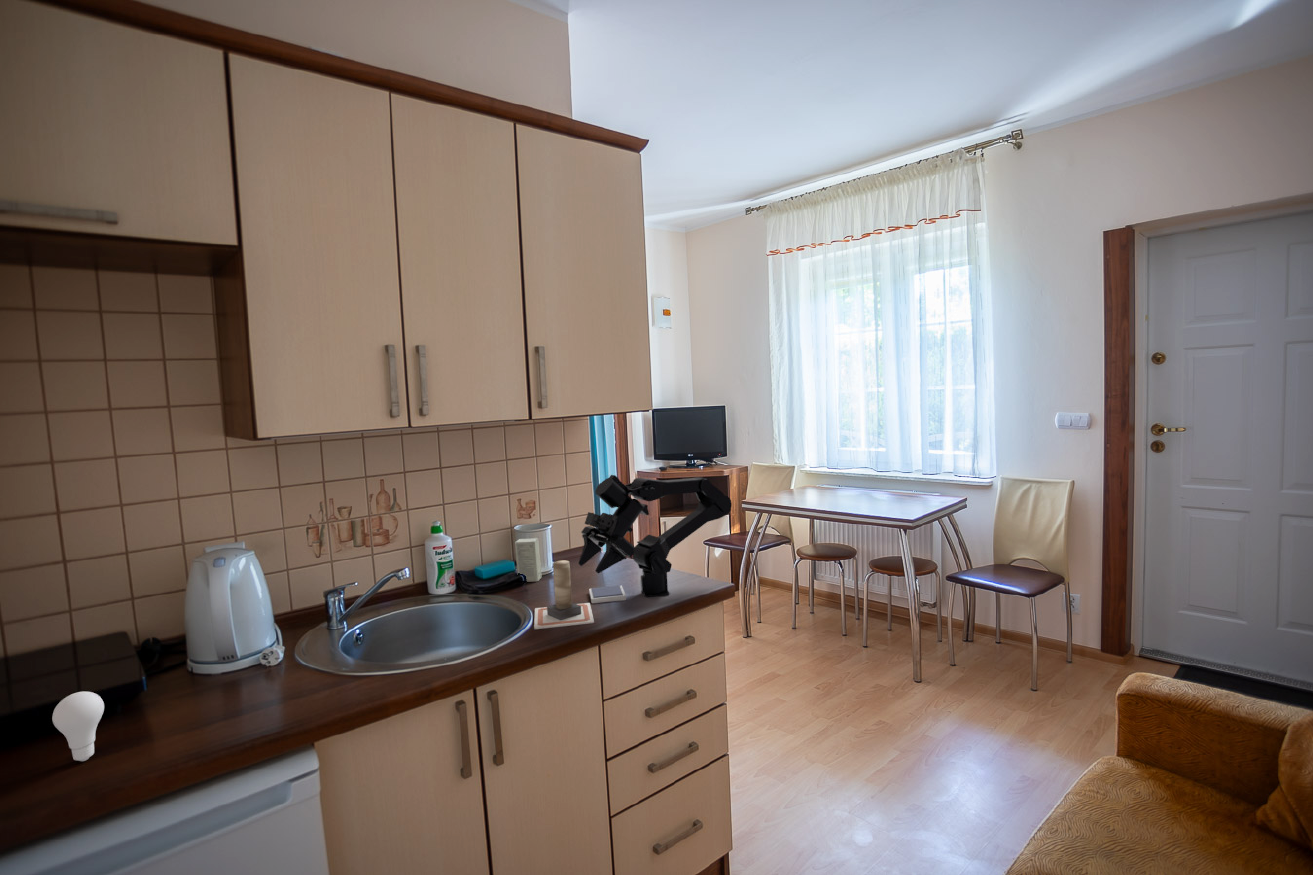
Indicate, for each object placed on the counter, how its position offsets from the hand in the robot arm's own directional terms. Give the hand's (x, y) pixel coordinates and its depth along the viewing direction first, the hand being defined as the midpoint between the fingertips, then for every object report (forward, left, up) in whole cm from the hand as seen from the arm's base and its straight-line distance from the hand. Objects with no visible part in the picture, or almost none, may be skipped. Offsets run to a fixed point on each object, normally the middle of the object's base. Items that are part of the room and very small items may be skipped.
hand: (588, 568), depth 162 cm
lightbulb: (+84, +47, -11) cm, 97 cm away
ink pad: (-5, -9, -10) cm, 15 cm away
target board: (+7, +3, -10) cm, 13 cm away
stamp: (+7, +3, -10) cm, 12 cm away
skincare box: (+16, -32, -11) cm, 37 cm away
